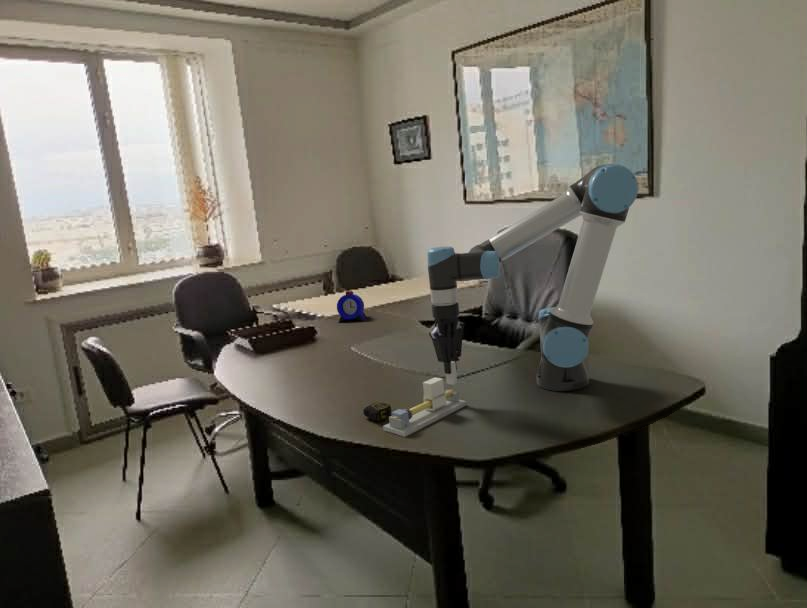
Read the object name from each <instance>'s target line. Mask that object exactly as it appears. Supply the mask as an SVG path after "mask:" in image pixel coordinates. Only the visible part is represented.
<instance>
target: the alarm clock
mask: <svg viewBox="0 0 807 608" xmlns="http://www.w3.org/2000/svg"><path fill="white" fill-rule="evenodd" d="M364 302H365V301H364V300H363V299H362V297H360V295H358V294H354V292H353V291H352V290H348V291H345V294H344V295H342V296H340V298H339V299H338V301H337V304H336V310H337V311H336V312H337V313H338V315H339V316H340V317H339V320H338V324H339V323H341V322H344V321H346V320H352V319H355V320H357V321H360V322H363V321H364V320H365V319H367V315H366V314H365V313H364V310H365V303H364Z"/></svg>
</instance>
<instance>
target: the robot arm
mask: <svg viewBox="0 0 807 608" xmlns="http://www.w3.org/2000/svg"><path fill="white" fill-rule="evenodd" d="M638 193H639V183H638V179H637V177H636V175H635V174H634V173H633V172H632V170H630V169H629V168H627V167H626V166H624V165H622V164H619V163H618V164H616V163H607V164H601V165H598V166H595V167H594V168H593V169H591V170H590V171H589V172H587V174H584V176H583V177H581V178H580V179H578V180H576V182H574V183H572V184H571V185H569V186H568V187H567V191H565V193H563V194H561V195H560V196H558V197H556V198H555V199H553V200H551V201H550V202H548V203H546V204H544V205H543V206H541V207H540V208H538V209H537V210H535V211H532V213H530V214H528V215H526V216H525V217H523V218H521V219H520V220H517V221H516V222H515V223H513V224H511V225H510V226H508V227H506V228H504V229H503V230H502V231H500V232H498V233H497V234H494V235H493V236H491V237H489V239H487V240H485V241H484V242H483V241H482V243H480V244H477V245H475V246H473V247H472V248H470V250H469V251H468V252H462V253H461V252H460V253H457V252H455V249H454V247H453V246H438V247H432V248H430V249H428V251H427V253H426V254H427V271H428V279H429V280H428V281H429V282H428V283H429V290H430V299H431V303H432V305H431V315H432V318H434V328H433V330H432V331H429V332H428V335H429V337H430V339H431V340H432V344H433V348H434V351H435V355H436V358H437V361H438V362H439V363H443V369H444V374H445V380H446V384H448V385H451V386H455V385H457V384H458V377H457V376H458V375H457V370H458V366H457V362H459V361H460V358H461V357H462V348H463V347H462V346H463V337H464V335H463V333H464V329H465V322H461V321H459V318H458V316H460V305H459V302H458V301H459V293H458V283H457V282H458V281H460V282H462V281H473V280H474V281H475V280H476V281H477V280H478V281H479V280H486V281H487V280H490V279H496V278H499V277H500V274H501V272H500V271H501V270H500V269H501V268H500V267H501V266H500V263H501V262H503V261H504V260H506V259H508V258H510V257H511V256H513V255H514V254H517V253H518V252H520V251H522V250H524V249H525V248H527V247H528V246H531V245H532V244H534V243H535V242H537V241H539V240H540V239H542V238H544V237H546V236H547V235H549V234H551V233H552V232H554V231H556V230H558V229H559V228H562V227H563V226H565V225H566V224H568V223H570V222H572V221H574V220H576V219H577V218H579V217H582V223H581V227H580V230H579V234H578V236H577V240H576V244H575V247H574V251H573V253H572V257H571V260H570V264H569V266H568V270H567V271H568V272H567V274H566V278H565V281H564V284H563V288H562V291H561V293H560V297H559V302H558V305H557V306H555V307H554V306H553V307H546V308H542V309H540V310H539V312H538V318H537V319H538V323H539V327H538V328H539V340H540V342H539V344H540V357H541V358H540V362H539V366H538V369H537V374H536V385H537V386H538V387H540V388H542V389H544V390H548V391H553V392H570V391H577V390H580V389H583V388H585V387H587V386H588V385H589V384H590V377H589V373H588V370H587V367H586V365H585V362H584V360H585V359H586V357H587V356H588V354H589V349H590V348H589V347H590V344H589V343H590V342H589V339H590V335H591V332H592V328H593V325H594V320H593V318H592V317H591V312H592V309H593V305H594V302H595V298H596V296H597V293H598V289H599V287H600V282H601V280H602V276H603V273H604V270H605V267H606V263H607V259H608V257H609V254H610V250H611V247H612V244H613V240H614V237H615V234H616V231H617V229H618V227H620V226H622V225H624V224H625V223H626V219H627V217H628V213H629V210H630V207H631V206H632V205H633V204H634V202H635V201H636V198H637V197H638Z"/></svg>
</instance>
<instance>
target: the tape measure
mask: <svg viewBox="0 0 807 608" xmlns="http://www.w3.org/2000/svg"><path fill="white" fill-rule="evenodd" d="M363 415H364V417H366V418H368V419H371V420H373V421H375V422H380V421H382V420H387V419H389V417H390V416H392V407H391V405H390V403H388V402H386V401H385V402H384V401H378V402H377V401H376V402H373V403H371V404H370V405H369V404H368V406H366V407H364V408H363Z"/></svg>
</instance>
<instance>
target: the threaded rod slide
mask: <svg viewBox="0 0 807 608" xmlns="http://www.w3.org/2000/svg"><path fill="white" fill-rule="evenodd" d="M444 393H445V395H446V405H447V406H445V407H443V408H441V409H439V410H437V411H435V412H434V411H430V410H426V409H427V408H429V407H431V406H432V400H428V401H426V402H424V401H423V403H420V404H417V405H416V406H414V407H411V408H404V409H401V408H398V409H396V410H394V411H391V415H390V416H389V417H388V421H389V423H387V424H384V425H382V429H383V432H384V431H385V432H388V433H391V434H395V435H398V436H400V437H403V438H405V437H408V436H409V435H412V434H414V433H415V432H417V431H419V430H421V429H423V428H426V427H427V426H429V425H431V424H433V423H434V422H437V421H439V420H441V419H442V418H444V417H446V416H448V415H450V414H452V413H455V412H456V411H458V410H460V409H462V408H464V407H466V406H467V400H462V399H460V393H459V392H458V391H455V390H453V389H446V390H445V389H444Z"/></svg>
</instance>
